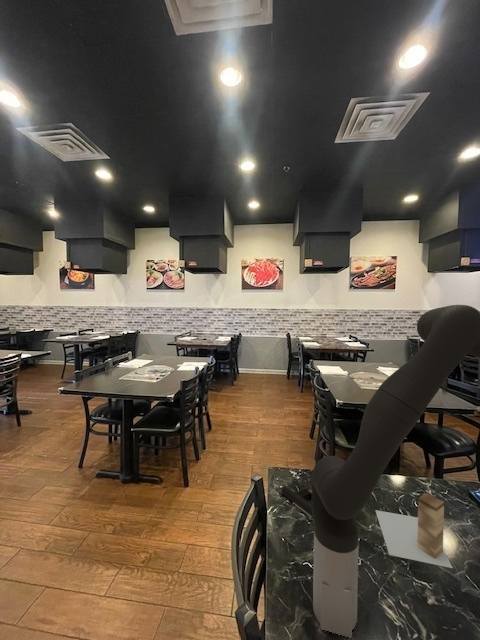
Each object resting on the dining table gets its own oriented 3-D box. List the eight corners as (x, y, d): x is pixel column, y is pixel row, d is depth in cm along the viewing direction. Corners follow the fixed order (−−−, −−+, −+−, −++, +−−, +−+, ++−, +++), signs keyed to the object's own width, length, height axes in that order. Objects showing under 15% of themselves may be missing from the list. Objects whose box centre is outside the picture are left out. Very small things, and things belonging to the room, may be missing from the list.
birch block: (442, 551, 77) (444, 501, 77) (435, 559, 75) (436, 507, 74) (425, 540, 81) (426, 493, 80) (417, 547, 78) (418, 498, 78)
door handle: (308, 475, 110) (279, 487, 101) (354, 504, 94) (324, 521, 85) (308, 484, 110) (278, 496, 101) (354, 514, 94) (323, 532, 84)
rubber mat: (453, 570, 72) (453, 568, 72) (389, 556, 76) (389, 554, 76) (426, 520, 89) (426, 518, 89) (375, 511, 93) (375, 510, 93)
